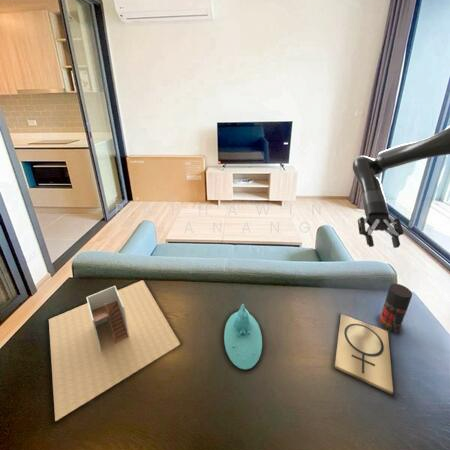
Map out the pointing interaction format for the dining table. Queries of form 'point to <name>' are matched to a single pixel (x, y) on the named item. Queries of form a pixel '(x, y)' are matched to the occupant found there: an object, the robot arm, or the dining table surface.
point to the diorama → (243, 339)
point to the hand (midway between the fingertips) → (384, 246)
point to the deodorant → (395, 307)
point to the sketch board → (364, 353)
